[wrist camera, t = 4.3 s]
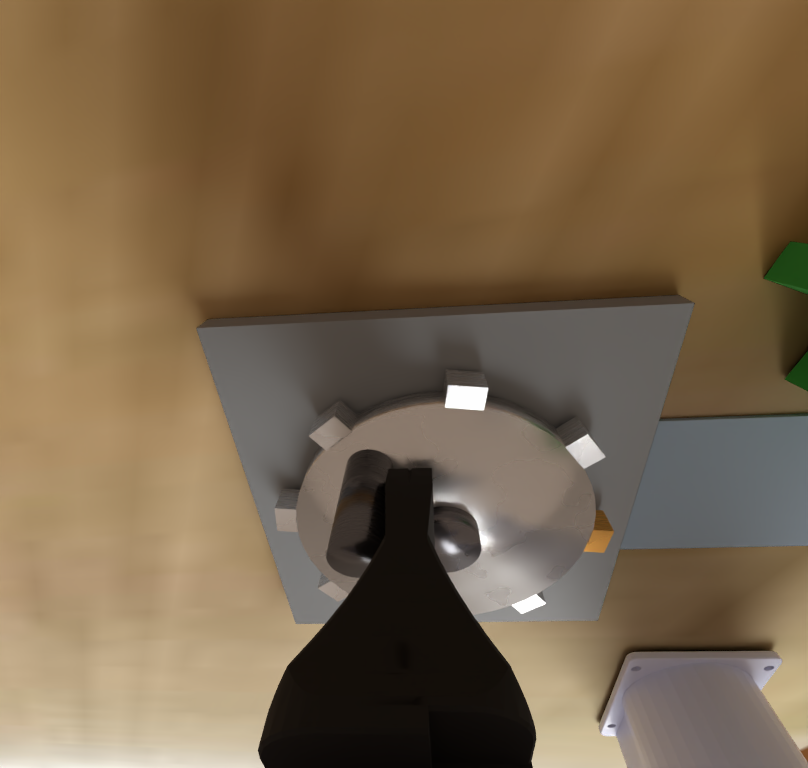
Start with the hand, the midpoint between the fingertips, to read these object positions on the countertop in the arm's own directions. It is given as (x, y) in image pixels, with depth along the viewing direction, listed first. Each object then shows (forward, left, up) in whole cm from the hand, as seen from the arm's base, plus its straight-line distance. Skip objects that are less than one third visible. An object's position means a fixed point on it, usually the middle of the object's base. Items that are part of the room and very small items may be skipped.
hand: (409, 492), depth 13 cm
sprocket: (-3, -1, -3) cm, 4 cm away
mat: (-3, -16, -3) cm, 16 cm away
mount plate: (-3, -1, -3) cm, 4 cm away
